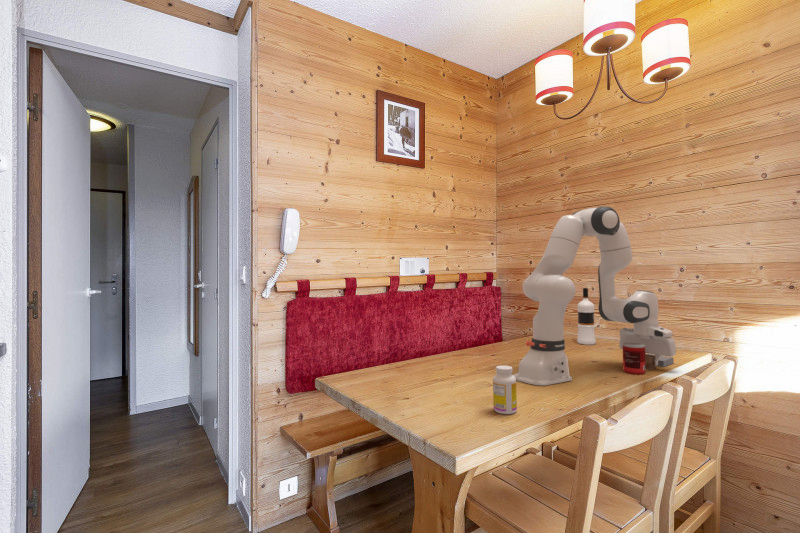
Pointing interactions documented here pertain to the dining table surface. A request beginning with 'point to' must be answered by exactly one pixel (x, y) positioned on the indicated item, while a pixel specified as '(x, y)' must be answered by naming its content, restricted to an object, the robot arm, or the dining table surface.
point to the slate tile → (664, 361)
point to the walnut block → (649, 361)
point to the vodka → (586, 321)
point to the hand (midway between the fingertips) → (646, 363)
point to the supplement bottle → (504, 391)
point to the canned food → (634, 358)
